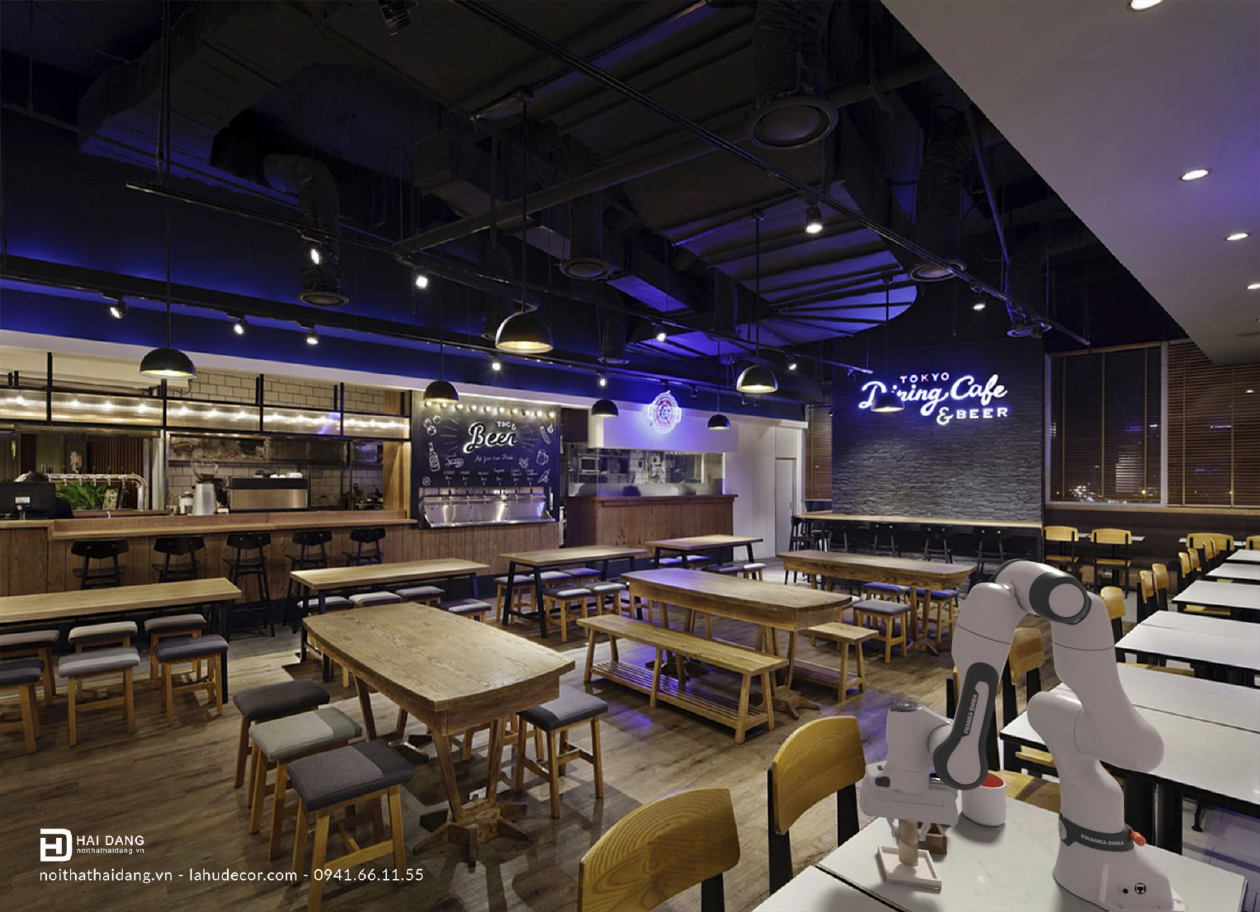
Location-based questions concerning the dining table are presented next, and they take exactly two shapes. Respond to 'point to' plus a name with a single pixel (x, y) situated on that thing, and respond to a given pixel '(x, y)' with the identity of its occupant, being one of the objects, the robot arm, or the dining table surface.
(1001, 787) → the cup
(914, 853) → the dowel
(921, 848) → the holder
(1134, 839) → the robot arm
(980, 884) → the dining table surface
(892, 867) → the tray
